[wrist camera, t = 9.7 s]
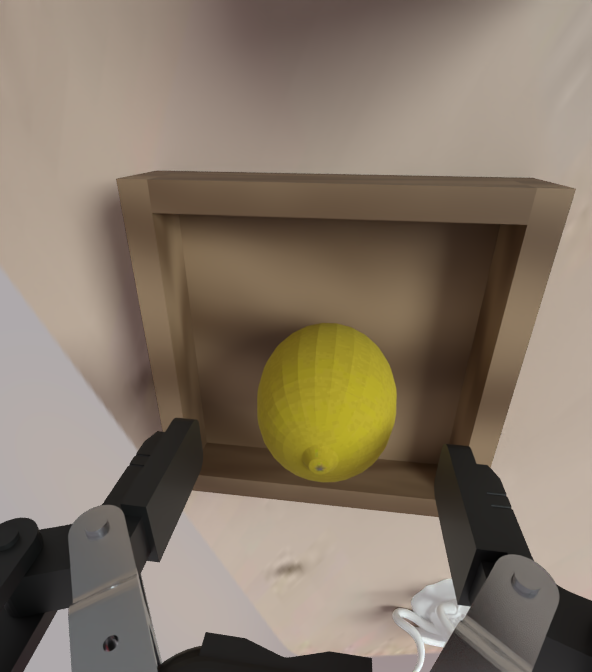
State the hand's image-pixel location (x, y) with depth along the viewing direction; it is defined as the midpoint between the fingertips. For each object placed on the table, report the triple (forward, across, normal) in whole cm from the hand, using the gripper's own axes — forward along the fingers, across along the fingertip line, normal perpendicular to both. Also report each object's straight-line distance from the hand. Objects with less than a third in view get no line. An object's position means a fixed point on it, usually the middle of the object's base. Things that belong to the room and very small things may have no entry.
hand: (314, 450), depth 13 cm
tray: (+8, 0, 0) cm, 8 cm away
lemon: (+8, 0, 0) cm, 8 cm away
